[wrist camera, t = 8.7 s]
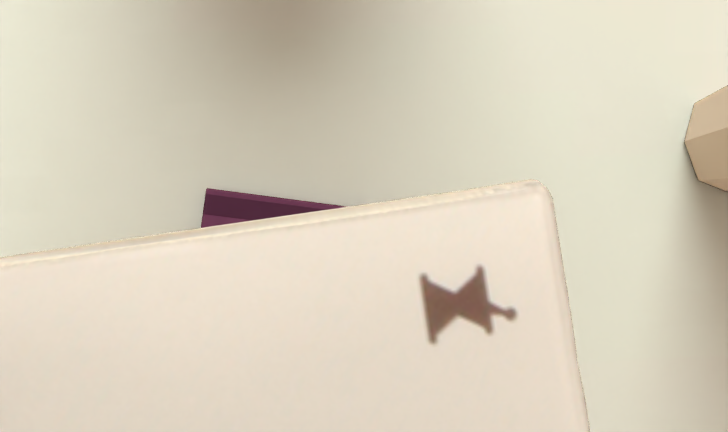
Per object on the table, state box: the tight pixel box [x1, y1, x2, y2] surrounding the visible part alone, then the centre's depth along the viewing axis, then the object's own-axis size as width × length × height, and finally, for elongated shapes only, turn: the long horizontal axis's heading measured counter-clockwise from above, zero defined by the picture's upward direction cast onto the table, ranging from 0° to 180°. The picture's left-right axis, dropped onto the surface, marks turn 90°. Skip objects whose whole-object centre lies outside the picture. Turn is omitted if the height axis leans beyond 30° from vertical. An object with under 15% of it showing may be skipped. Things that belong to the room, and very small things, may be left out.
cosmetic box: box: [0, 179, 590, 432], centre depth 10 cm, size 6×4×12 cm
